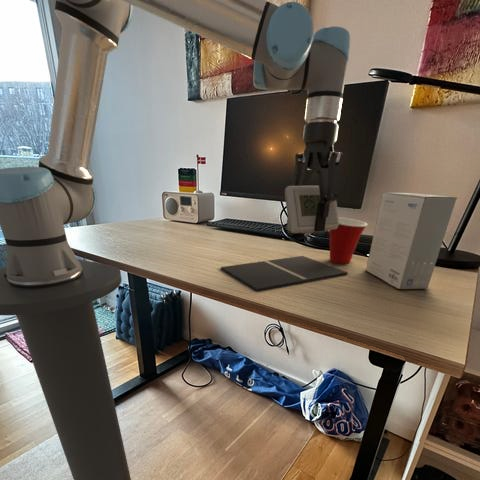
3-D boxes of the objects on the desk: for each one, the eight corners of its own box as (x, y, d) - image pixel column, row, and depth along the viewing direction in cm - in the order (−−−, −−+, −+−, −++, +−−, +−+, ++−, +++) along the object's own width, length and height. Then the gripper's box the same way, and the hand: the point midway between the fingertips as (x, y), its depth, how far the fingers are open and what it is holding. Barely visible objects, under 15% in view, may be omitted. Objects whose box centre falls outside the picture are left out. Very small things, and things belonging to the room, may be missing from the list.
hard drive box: (428, 289, 69) (459, 197, 60) (398, 290, 68) (425, 196, 59) (389, 269, 83) (409, 191, 74) (364, 270, 82) (381, 191, 73)
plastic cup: (356, 268, 83) (365, 224, 78) (317, 262, 88) (323, 220, 82) (362, 259, 92) (371, 219, 86) (327, 254, 96) (333, 215, 91)
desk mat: (256, 291, 66) (257, 288, 66) (220, 269, 80) (220, 266, 79) (347, 274, 78) (347, 271, 78) (302, 257, 92) (302, 255, 92)
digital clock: (290, 235, 71) (294, 186, 66) (273, 228, 79) (276, 184, 74) (346, 232, 76) (354, 186, 71) (325, 226, 84) (331, 185, 79)
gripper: (369, 119, 61) (348, 234, 71) (305, 128, 76) (295, 221, 87) (343, 115, 58) (325, 236, 68) (281, 126, 73) (274, 223, 83)
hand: (308, 228), depth 77 cm, fingers closed on digital clock, 7 cm apart
